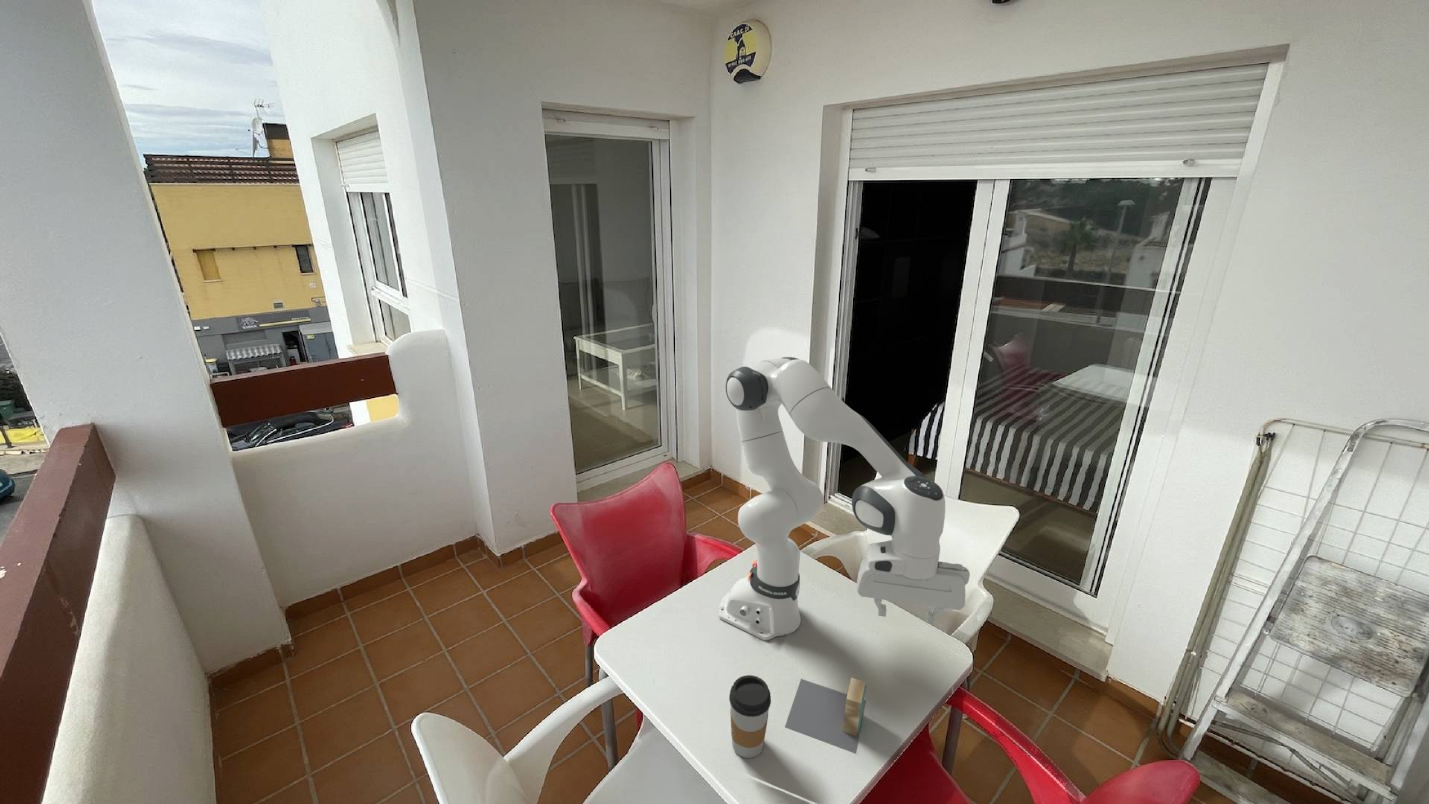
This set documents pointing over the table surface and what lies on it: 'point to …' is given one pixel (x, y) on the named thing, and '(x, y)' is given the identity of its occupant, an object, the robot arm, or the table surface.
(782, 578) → the robot arm
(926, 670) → the table surface
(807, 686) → the mat
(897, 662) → the table surface
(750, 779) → the table surface
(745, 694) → the coffee cup
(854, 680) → the plaque
